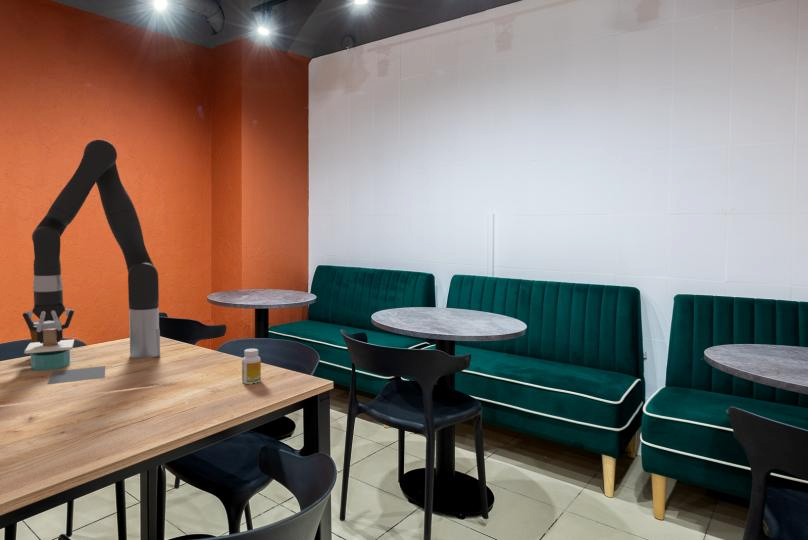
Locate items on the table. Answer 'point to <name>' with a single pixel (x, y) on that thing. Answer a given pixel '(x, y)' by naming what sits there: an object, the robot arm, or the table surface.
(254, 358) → the supplement bottle
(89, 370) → the mat
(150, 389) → the table surface
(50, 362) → the bowl
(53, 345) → the lid
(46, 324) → the disposable coffee cup
